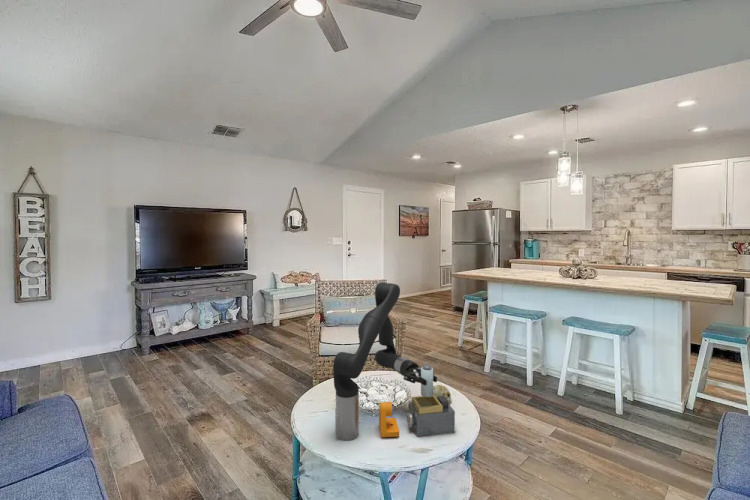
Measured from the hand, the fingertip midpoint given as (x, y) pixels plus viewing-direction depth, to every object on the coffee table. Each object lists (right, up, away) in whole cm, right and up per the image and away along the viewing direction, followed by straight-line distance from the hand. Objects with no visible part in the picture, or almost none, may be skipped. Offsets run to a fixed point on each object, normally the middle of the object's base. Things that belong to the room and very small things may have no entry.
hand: (431, 381), depth 147 cm
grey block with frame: (+1, -21, +4) cm, 21 cm away
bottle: (-1, -6, +3) cm, 7 cm away
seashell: (+8, -20, +28) cm, 35 cm away
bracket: (-17, -21, +1) cm, 27 cm away
